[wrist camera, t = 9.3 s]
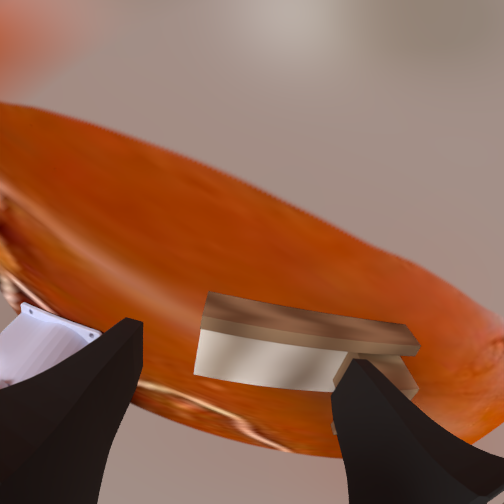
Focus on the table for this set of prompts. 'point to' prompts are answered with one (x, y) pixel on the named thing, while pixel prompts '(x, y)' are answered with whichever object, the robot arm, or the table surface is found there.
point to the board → (287, 343)
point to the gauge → (388, 366)
